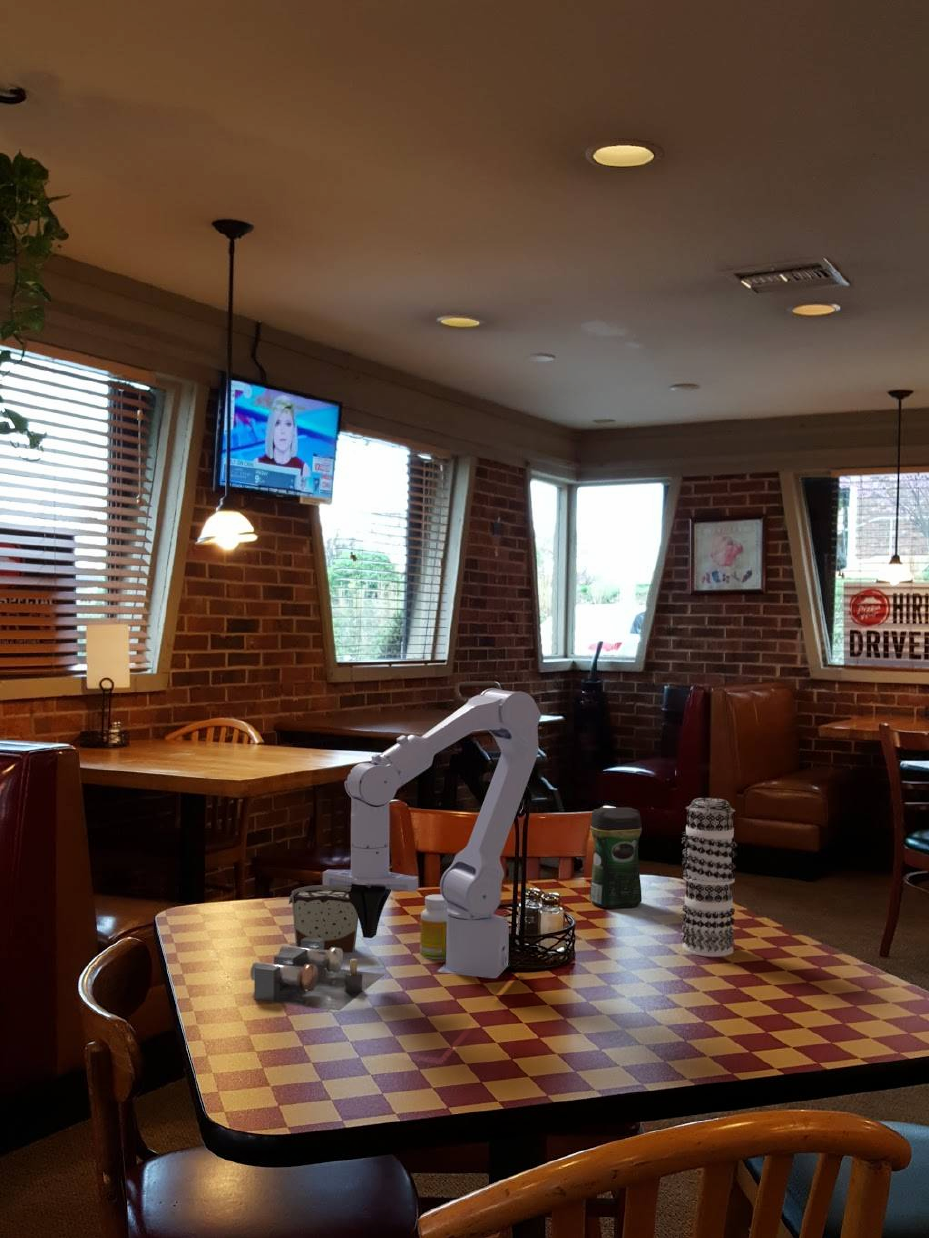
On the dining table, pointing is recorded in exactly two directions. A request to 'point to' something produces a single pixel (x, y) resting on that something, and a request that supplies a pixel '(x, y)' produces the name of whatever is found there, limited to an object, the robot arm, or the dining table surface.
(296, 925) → the food container
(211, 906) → the dining table surface
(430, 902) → the supplement bottle
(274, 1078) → the dining table surface
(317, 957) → the silver long cylinder
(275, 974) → the mount
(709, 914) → the decorative candle
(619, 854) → the coffee jar
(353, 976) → the potentiometer
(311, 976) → the copper-capped metal rod
